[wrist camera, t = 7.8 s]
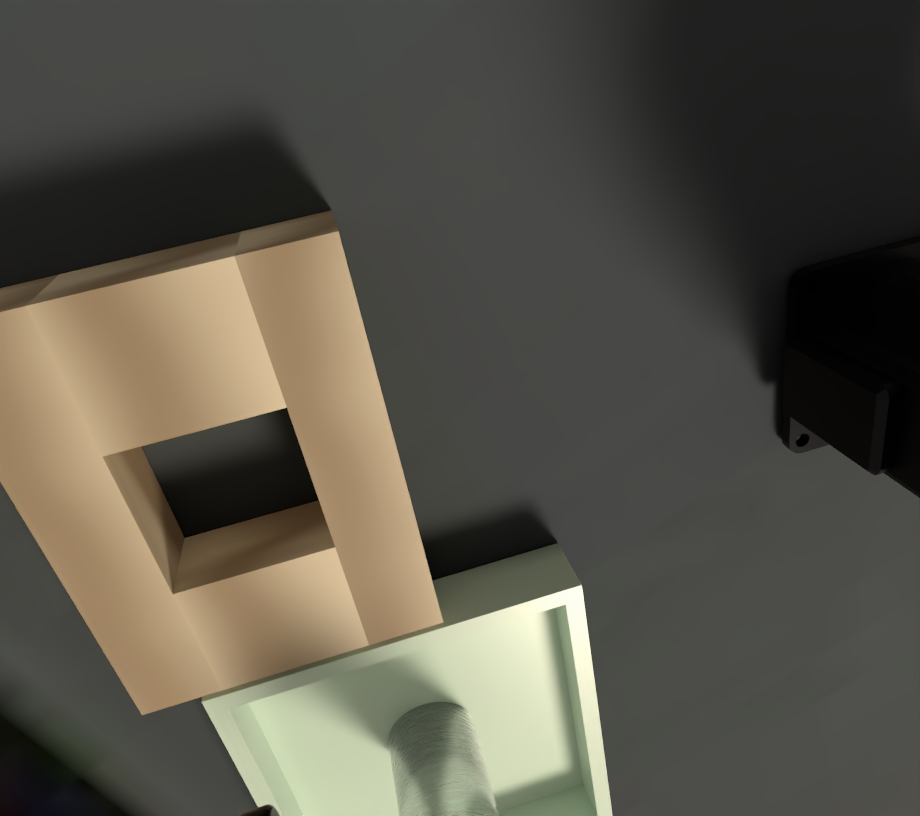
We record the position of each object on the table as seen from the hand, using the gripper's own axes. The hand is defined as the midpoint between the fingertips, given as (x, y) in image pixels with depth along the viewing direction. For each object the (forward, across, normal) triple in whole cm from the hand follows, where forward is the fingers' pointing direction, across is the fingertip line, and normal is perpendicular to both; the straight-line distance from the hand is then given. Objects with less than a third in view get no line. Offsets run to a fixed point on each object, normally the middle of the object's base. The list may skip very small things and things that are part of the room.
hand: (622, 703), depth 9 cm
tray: (+12, +4, +14) cm, 19 cm away
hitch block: (+12, +6, +1) cm, 14 cm away
